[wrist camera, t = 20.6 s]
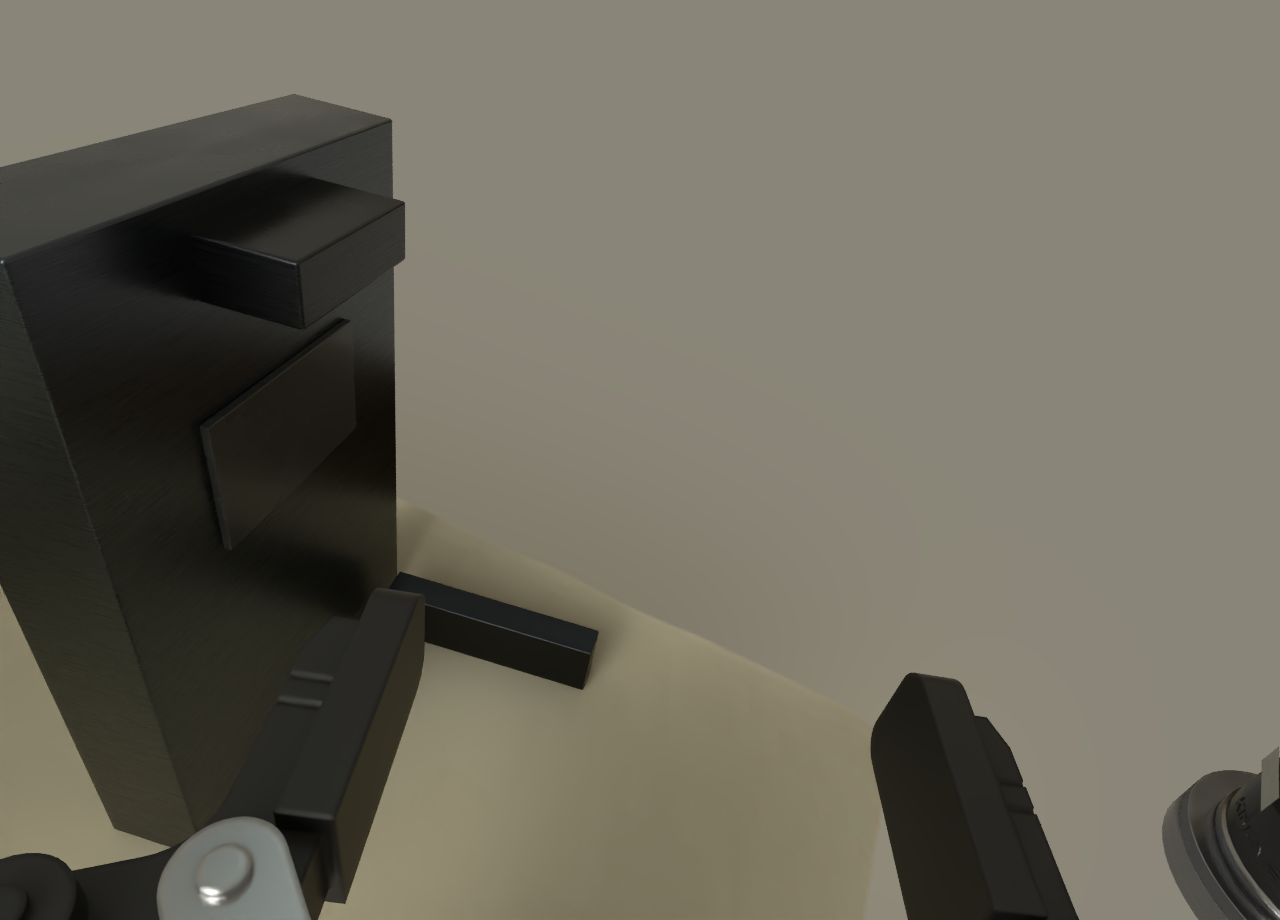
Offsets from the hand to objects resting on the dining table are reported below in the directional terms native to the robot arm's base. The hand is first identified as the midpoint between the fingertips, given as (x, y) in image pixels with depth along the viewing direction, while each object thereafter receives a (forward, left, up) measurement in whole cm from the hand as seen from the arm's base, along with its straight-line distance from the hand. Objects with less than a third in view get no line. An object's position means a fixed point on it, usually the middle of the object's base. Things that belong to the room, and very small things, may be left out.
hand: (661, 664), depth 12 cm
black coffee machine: (+11, -11, -23) cm, 28 cm away
